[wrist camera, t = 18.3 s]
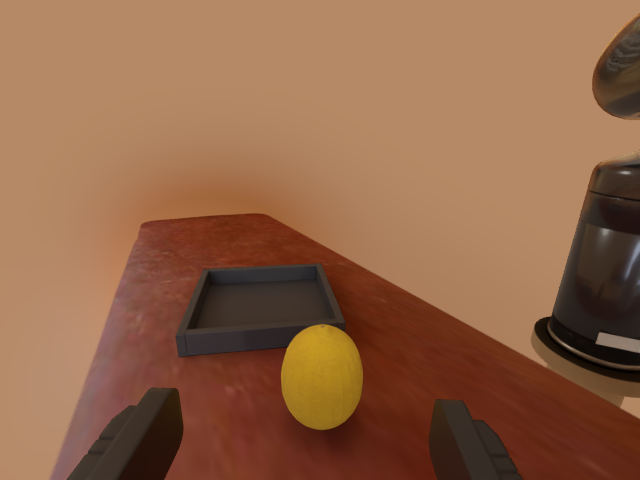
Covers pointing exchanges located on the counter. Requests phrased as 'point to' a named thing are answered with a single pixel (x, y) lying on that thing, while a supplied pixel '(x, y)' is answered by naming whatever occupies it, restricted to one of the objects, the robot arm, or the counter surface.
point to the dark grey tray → (256, 308)
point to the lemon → (322, 377)
